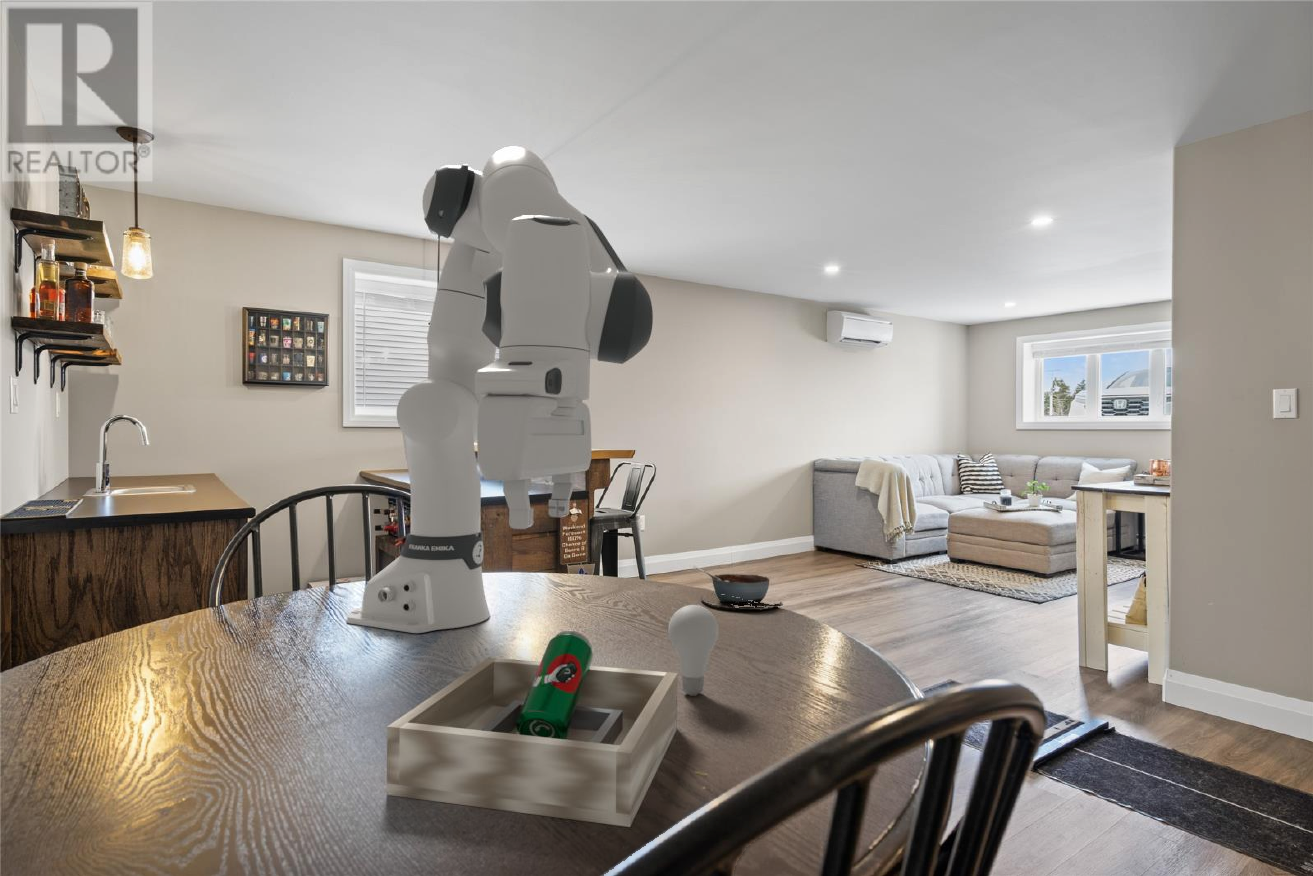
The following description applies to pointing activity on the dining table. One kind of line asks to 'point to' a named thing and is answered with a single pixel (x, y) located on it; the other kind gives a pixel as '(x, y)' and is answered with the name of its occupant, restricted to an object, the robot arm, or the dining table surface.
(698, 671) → the lightbulb
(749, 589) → the soup bowl
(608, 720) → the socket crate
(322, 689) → the dining table surface
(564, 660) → the soda can
